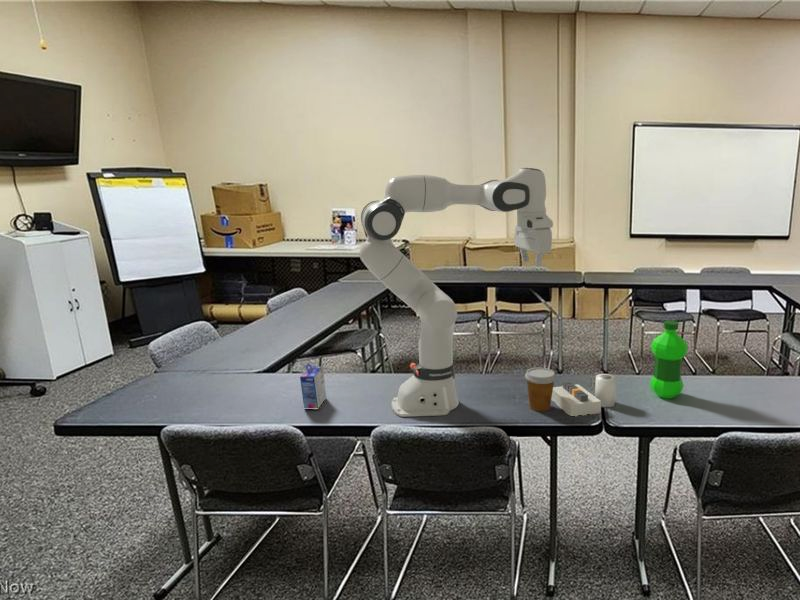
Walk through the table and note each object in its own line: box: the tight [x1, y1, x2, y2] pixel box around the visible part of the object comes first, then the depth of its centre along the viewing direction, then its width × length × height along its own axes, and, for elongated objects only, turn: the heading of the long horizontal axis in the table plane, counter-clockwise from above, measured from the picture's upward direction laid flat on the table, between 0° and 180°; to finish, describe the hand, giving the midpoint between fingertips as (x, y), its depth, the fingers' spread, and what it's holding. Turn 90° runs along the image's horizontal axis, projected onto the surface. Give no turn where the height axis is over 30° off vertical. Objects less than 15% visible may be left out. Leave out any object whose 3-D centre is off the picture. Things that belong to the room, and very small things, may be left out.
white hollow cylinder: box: [594, 373, 617, 408], centre depth 166 cm, size 6×6×9 cm
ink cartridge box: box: [299, 362, 327, 409], centre depth 176 cm, size 10×6×14 cm, turn 172°
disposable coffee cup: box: [524, 367, 557, 412], centre depth 165 cm, size 10×10×12 cm
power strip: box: [551, 380, 602, 417], centre depth 170 cm, size 10×22×6 cm, turn 10°
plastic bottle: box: [649, 320, 689, 400], centre depth 168 cm, size 10×10×25 cm
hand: (531, 263), depth 166 cm, fingers open, 8 cm apart
